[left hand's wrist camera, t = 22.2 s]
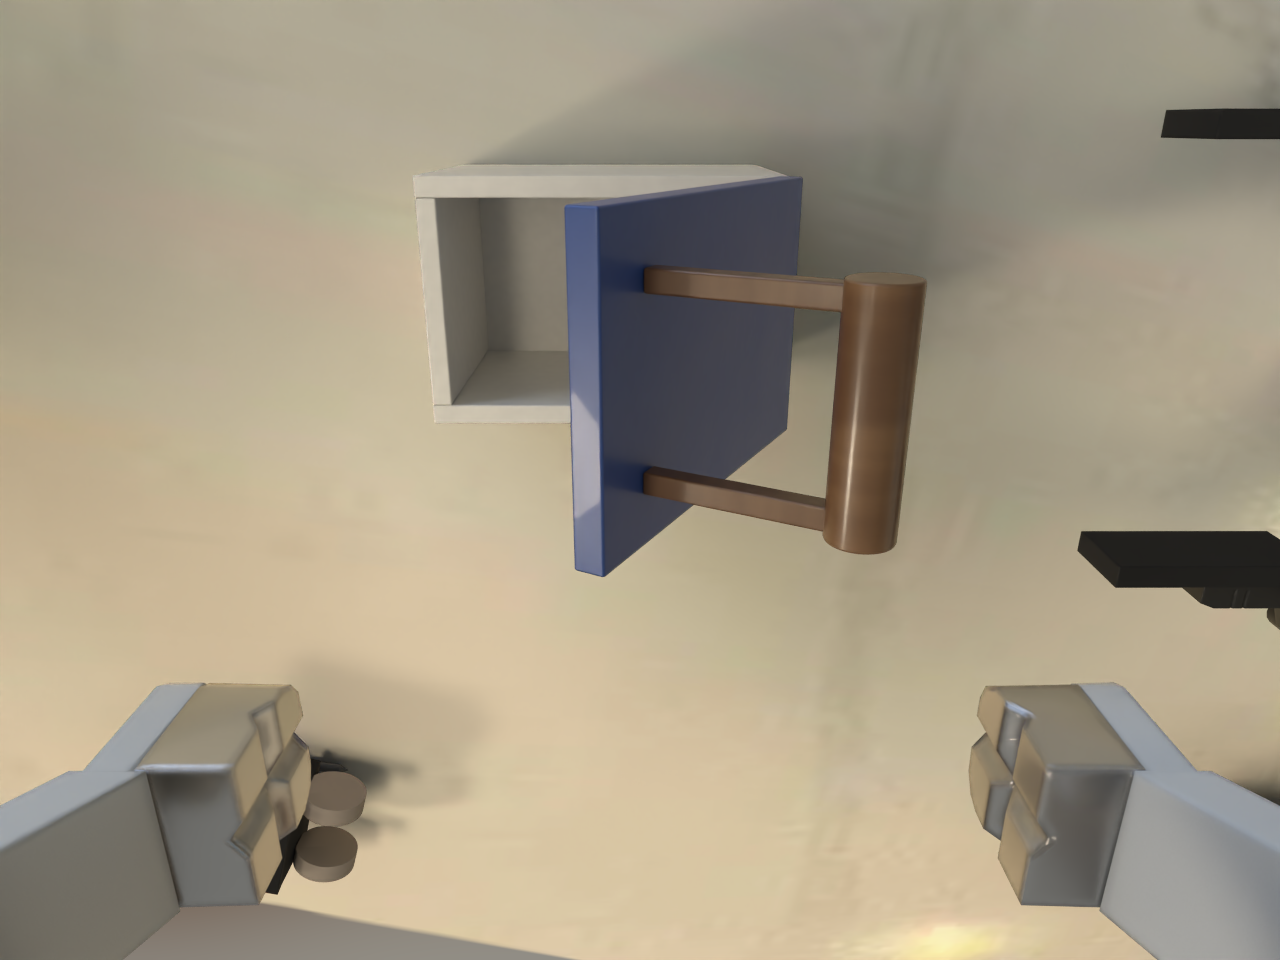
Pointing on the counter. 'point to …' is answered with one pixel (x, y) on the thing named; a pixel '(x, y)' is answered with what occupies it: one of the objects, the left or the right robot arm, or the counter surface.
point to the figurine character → (323, 828)
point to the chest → (515, 277)
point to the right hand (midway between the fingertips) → (1137, 360)
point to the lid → (723, 368)
